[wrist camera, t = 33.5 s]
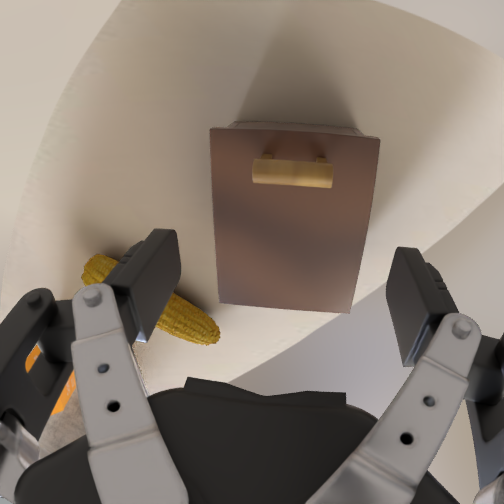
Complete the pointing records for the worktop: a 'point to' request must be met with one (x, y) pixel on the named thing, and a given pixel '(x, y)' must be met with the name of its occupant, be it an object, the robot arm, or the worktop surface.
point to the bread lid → (290, 215)
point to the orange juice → (67, 389)
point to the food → (174, 315)
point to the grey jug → (62, 427)
